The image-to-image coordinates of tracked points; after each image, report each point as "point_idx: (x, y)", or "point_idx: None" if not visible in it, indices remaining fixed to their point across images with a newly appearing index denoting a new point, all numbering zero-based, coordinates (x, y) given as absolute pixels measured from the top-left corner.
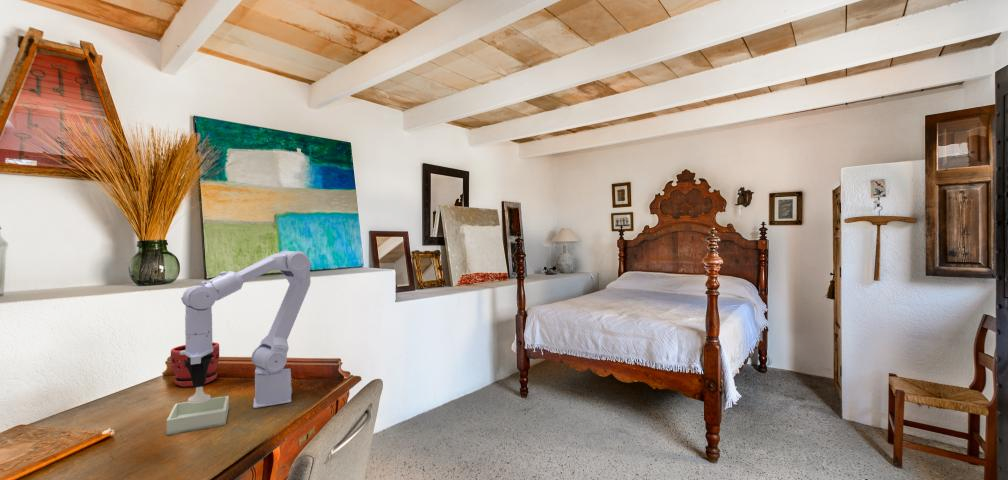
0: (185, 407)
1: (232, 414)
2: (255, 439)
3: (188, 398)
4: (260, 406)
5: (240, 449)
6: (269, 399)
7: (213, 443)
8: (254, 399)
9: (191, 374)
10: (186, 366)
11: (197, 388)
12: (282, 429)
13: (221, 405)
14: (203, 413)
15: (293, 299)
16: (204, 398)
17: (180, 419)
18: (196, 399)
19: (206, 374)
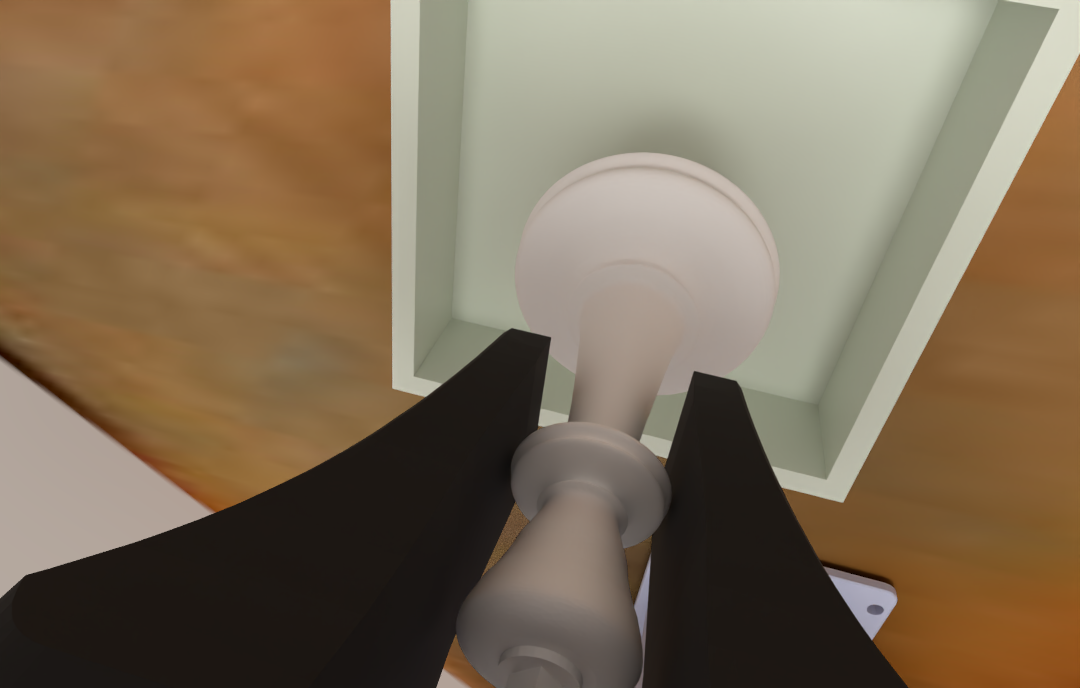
0: (987, 94)
1: None
2: (125, 390)
3: (662, 180)
4: (650, 559)
5: (14, 305)
6: (644, 633)
7: (134, 201)
8: (845, 584)
9: (347, 463)
10: (59, 571)
11: (589, 351)
12: (215, 510)
13: (834, 393)
14: (810, 232)
15: None
16: (532, 332)
17: (396, 24)
18: (528, 258)
19: (652, 606)
